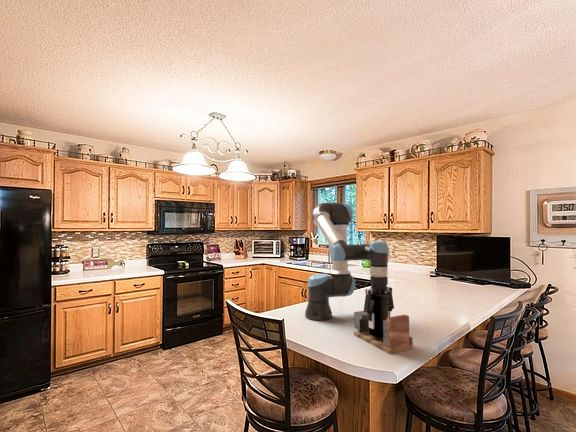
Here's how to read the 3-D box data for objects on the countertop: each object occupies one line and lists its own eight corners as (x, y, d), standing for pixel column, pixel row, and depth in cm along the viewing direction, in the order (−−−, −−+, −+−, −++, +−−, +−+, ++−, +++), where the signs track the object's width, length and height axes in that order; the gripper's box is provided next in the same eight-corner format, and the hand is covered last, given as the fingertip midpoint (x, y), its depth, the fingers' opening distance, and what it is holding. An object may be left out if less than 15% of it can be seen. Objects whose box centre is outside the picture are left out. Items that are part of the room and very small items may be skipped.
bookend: (350, 328, 150) (350, 312, 150) (367, 325, 154) (366, 310, 154) (359, 332, 144) (359, 316, 144) (376, 329, 148) (376, 313, 148)
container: (385, 330, 143) (385, 291, 143) (393, 337, 134) (392, 295, 134) (366, 330, 143) (366, 291, 143) (372, 337, 134) (372, 296, 134)
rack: (353, 335, 145) (353, 306, 145) (375, 331, 151) (375, 303, 151) (389, 353, 124) (389, 320, 125) (412, 348, 130) (412, 316, 130)
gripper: (365, 278, 131) (366, 332, 131) (402, 275, 140) (402, 325, 140) (354, 276, 138) (355, 327, 137) (390, 272, 147) (390, 321, 146)
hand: (379, 326), depth 138 cm, fingers closed on container, 8 cm apart
